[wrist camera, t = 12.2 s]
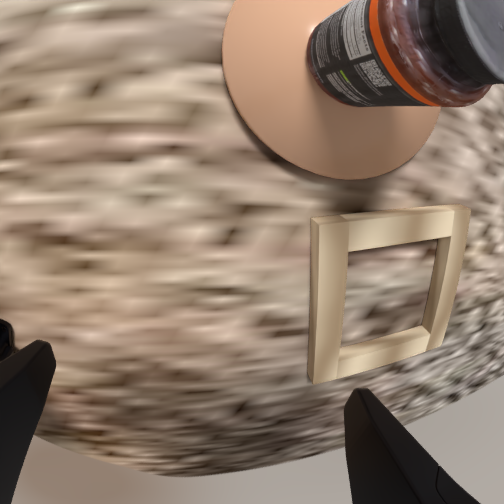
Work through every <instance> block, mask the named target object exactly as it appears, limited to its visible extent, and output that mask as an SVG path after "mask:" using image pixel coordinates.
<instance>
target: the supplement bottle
mask: <svg viewBox="0 0 504 504" xmlns="http://www.w3.org/2000/svg"><path fill="white" fill-rule="evenodd" d="M307 62H308V66H309V69H310V72H311V74H312V75H313V77H314V79H315V81H316V82H317V84H318V85H319V86H320V88H321V89H322V90H323V91H324V92H325V93H326V94H328V95H329V96H330V97H331V98H333V99H335V100H336V101H338V102H340V103H342V104H345V105H349V106H353V107H385V106H430V107H433V106H435V107H465V106H468V105H471V104H474V103H476V102H477V101H479V100H480V99H481V98H483V97H484V95H485V94H486V93H487V92H488V91H489V89H490V88H491V86H492V85H493V84H504V0H351V1H350V2H348V3H347V4H345V5H344V6H342V7H341V8H339V9H338V10H336V11H335V12H333V13H332V14H331V15H329V16H328V17H326V18H325V19H324V20H323V21H322V22H320V23H319V24H318V25H317V26H316V27H315V28H314V30H313V31H312V33H311V35H310V37H309V40H308V44H307Z"/></svg>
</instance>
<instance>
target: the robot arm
mask: <svg viewBox="0 0 504 504" xmlns="http://www.w3.org/2000/svg"><path fill="white" fill-rule="evenodd" d="M4 327H5V328H6V329H5V328H4ZM55 369H56V360H55V357H54V354H53V351H52V347H51V345H50V343H48V342H46V341H42V340H36V341H34V342H32V343H31V344H29V345H27V346H26V347H24V348H23V349H21V350H19V351H18V352H16V353H14V350H13V348H12V341H11V326H10V325H9V324H8V323H7V322H6V321H3V320H1V319H0V504H11V502H12V498H13V495H14V491H15V488H16V484H17V481H18V478H19V475H20V471H21V468H22V466H23V462H24V459H25V456H26V454H27V451H28V448H29V445H30V442H31V440H32V437H33V434H34V432H35V429H36V427H37V424H38V421H39V419H40V416H41V414H42V411H43V408H44V405H45V402H46V398H47V395H48V391H49V388H50V385H51V382H52V378H53V375H54V372H55ZM344 425H345V450H346V460H347V467H348V474H349V481H350V488H351V495H352V503H353V504H480V503H479V502H478V501H477V500H476V499H474V498H473V497H472V496H471V495H470V494H469V493H467V492H466V491H465V490H464V489H463V488H462V487H461V486H460V485H458V484H457V483H456V482H455V481H454V480H453V479H452V478H451V477H450V476H449V475H448V474H447V473H446V471H444V469H443V468H442V467H441V466H438V463H437V462H436V461H435V460H434V459H433V458H432V457H431V456H430V455H429V453H428V452H427V451H426V450H425V449H424V448H423V447H422V446H421V445H420V444H419V443H418V442H417V440H416V439H415V438H414V437H413V436H412V435H411V434H410V433H409V432H408V431H407V430H406V429H405V428H404V426H403V425H402V424H401V423H400V422H399V421H398V420H397V419H396V418H395V417H394V416H393V415H392V413H391V412H390V411H389V410H388V409H387V408H386V407H385V406H384V405H383V404H382V403H381V402H380V400H379V399H378V398H377V397H376V396H375V395H374V394H373V393H372V392H371V391H370V390H369V389H367V388H356V389H354V390H353V392H352V394H351V395H350V397H349V399H348V401H347V402H346V404H345V407H344Z"/></svg>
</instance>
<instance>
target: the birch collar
mask: <svg viewBox="0 0 504 504" xmlns="http://www.w3.org/2000/svg"><path fill="white" fill-rule="evenodd" d="M470 213H471V209H469V208H467V207H465V206H462V205H460V204H452V205H439V206H427V207H416V208H404V209H393V210H383V211H372V212H362V213H352V214H342V215H332V216H323V217H314V218H311V277H310V320H309V346H308V367H307V373H308V375H309V378H310V380H311V382H312V384H313V385H314V384H318V383H322V382H326V381H330V380H334V379H338V378H342V377H346V376H349V375H353V374H357V373H360V372H364V371H367V370H370V369H374V368H377V367H380V366H384V365H387V364H390V363H393V362H396V361H399V360H402V359H405V358H408V357H411V356H414V355H417V354H420V353H422V352H425V351H428V350H431V349H433V348H436V347H439V346H441V344H442V341H443V338H444V334H445V331H446V328H447V324H448V321H449V317H450V314H451V310H452V306H453V302H454V298H455V294H456V290H457V286H458V281H459V277H460V272H461V267H462V262H463V257H464V252H465V246H466V240H467V234H468V227H469V220H470ZM436 238H438V244H437V250H436V257H435V263H434V269H433V274H432V280H431V285H430V290H429V295H428V299H427V304H426V309H425V313H424V317H423V321H422V325H421V326H418V327H415V328H411V329H408V330H405V331H401V332H398V333H394V334H391V335H387V336H384V337H380V338H377V339H373V340H369V341H365V342H361V343H358V344H354V345H350V346H346V347H341V348H340V344H341V335H342V325H343V315H344V304H345V292H346V279H347V263H348V252H351V251H357V250H364V249H371V248H377V247H384V246H390V245H397V244H404V243H410V242H416V241H423V240H429V239H436Z"/></svg>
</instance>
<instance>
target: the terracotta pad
mask: <svg viewBox="0 0 504 504" xmlns="http://www.w3.org/2000/svg"><path fill="white" fill-rule="evenodd" d="M350 1H351V0H235V2H234V4H233V6H232V9H231V11H230V13H229V15H228V18H227V21H226V24H225V28H224V32H223V38H222V48H221V53H222V67H223V72H224V77H225V82H226V85H227V88H228V91H229V93H230V96H231V99H232V101H233V103H234V105H235V107H236V109H237V111H238V112H239V114H240V115H241V117H242V118H243V120H244V121H245V123H246V124H247V126H248V127H249V128H250V129H251V130H252V132H253V133H254V134H255V135H256V136H257V137H258V138H259V140H261V141H262V142H263V143H264V144H265V145H266V146H267V147H268V148H270V149H271V150H272V151H273V152H275V153H276V154H278V155H279V156H281V157H282V158H283V159H285V160H287V161H289V162H291V163H293V164H294V165H296V166H298V167H300V168H303V169H305V170H308V171H310V172H313V173H316V174H318V175H322V176H326V177H331V178H337V179H347V180H352V179H365V178H371V177H376V176H379V175H382V174H385V173H388V172H390V171H392V170H394V169H396V168H398V167H399V166H401V165H402V164H404V163H405V162H407V161H408V160H409V159H410V158H412V157H413V156H414V155H415V154H416V153H417V152H418V151H419V150H420V148H421V147H422V146H423V145H424V143H425V142H426V141H427V139H428V138H429V136H430V134H431V133H432V131H433V129H434V126H435V124H436V122H437V119H438V116H439V113H440V109H441V107H435V106H433V107H430V106H385V107H353V106H349V105H345V104H342V103H340V102H338V101H336V100H335V99H333V98H331V97H330V96H329V95H328V94H326V93H325V92H324V91H323V90H322V89H321V88H320V86H319V85H318V84H317V82H316V81H315V79H314V77H313V75H312V74H311V72H310V69H309V66H308V62H307V44H308V40H309V37H310V35H311V33H312V31H313V30H314V28H315V27H316V26H317V25H318V24H319V23H320V22H322V21H323V20H324V19H325V18H326V17H328V16H329V15H331V14H332V13H333V12H335V11H336V10H338V9H339V8H341V7H342V6H344V5H345V4H347V3H348V2H350Z"/></svg>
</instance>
